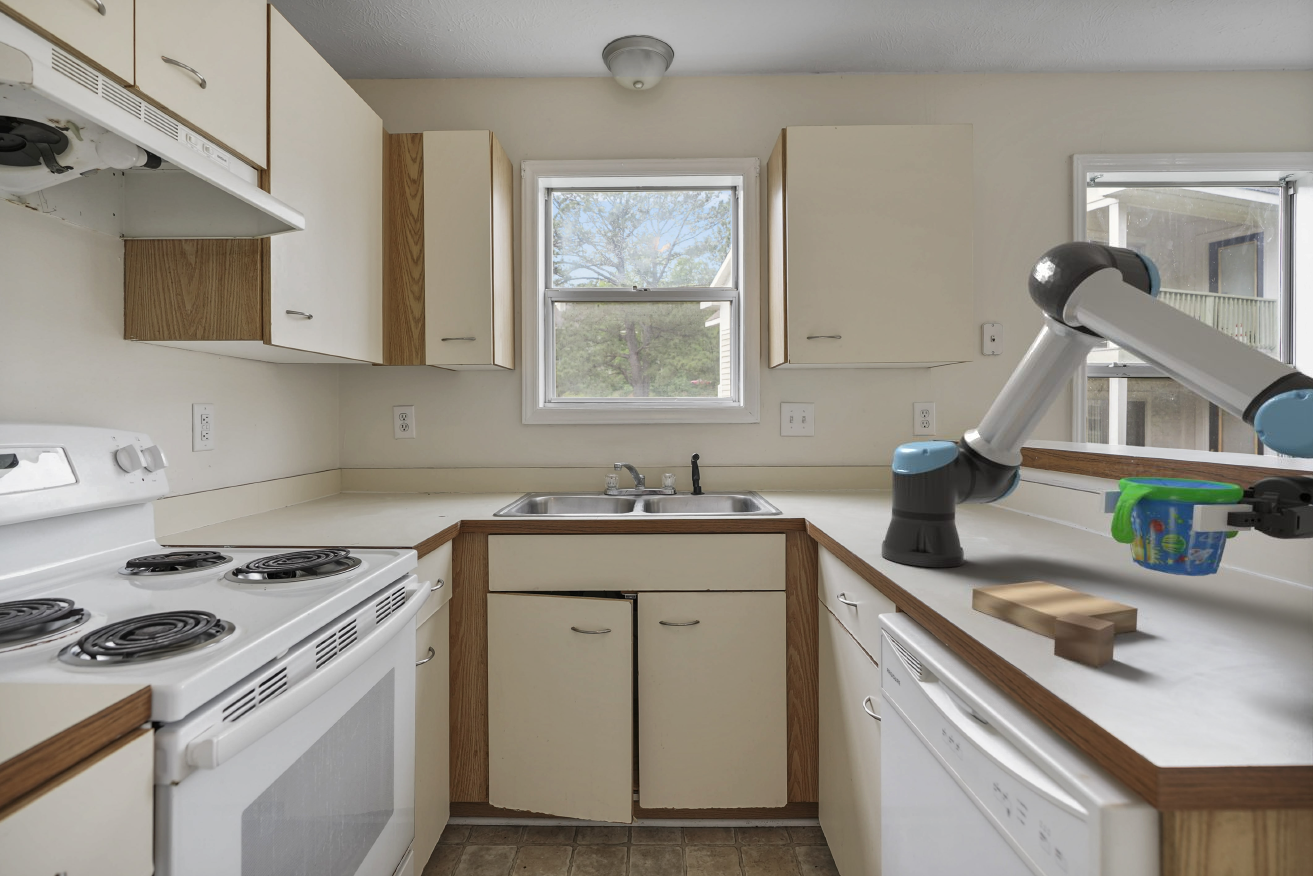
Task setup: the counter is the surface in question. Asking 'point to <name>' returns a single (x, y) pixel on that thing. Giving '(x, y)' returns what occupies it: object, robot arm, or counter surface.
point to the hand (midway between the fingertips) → (1145, 509)
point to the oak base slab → (1049, 606)
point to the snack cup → (1171, 523)
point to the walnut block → (1084, 639)
